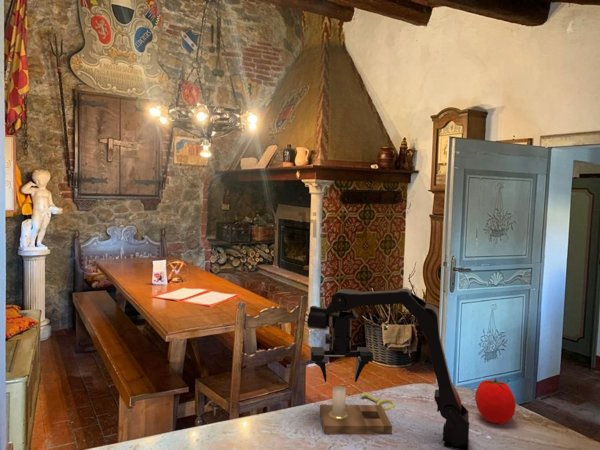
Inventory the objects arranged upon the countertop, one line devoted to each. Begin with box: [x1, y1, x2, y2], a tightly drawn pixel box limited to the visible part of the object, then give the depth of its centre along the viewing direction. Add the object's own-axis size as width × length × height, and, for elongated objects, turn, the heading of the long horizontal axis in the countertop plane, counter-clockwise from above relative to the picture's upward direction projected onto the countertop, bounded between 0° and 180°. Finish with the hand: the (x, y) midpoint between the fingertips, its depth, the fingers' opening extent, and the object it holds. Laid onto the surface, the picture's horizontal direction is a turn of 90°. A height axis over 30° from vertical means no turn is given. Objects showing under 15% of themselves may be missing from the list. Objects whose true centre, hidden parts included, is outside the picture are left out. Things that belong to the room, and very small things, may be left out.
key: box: [359, 391, 396, 411], centre depth 160 cm, size 7×12×2 cm, turn 60°
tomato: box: [474, 377, 517, 425], centre depth 149 cm, size 12×12×13 cm
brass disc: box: [329, 411, 348, 419], centre depth 145 cm, size 6×6×1 cm
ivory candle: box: [331, 385, 347, 417], centre depth 145 cm, size 4×4×8 cm
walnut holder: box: [319, 404, 393, 435], centre depth 146 cm, size 20×14×2 cm
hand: (340, 381), depth 145 cm, fingers open, 9 cm apart
